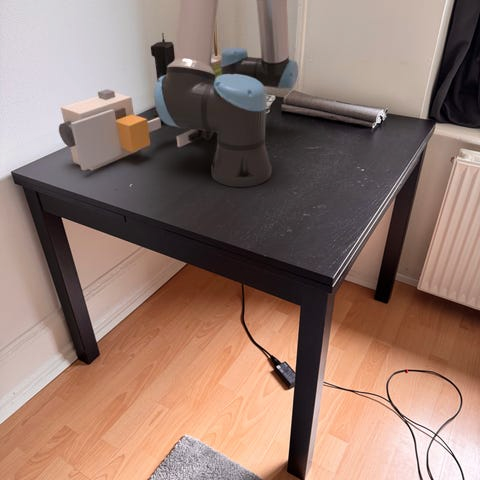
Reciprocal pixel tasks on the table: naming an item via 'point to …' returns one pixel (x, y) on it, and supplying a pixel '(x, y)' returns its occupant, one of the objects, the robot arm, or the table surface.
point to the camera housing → (89, 108)
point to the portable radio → (162, 56)
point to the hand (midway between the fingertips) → (159, 135)
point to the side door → (108, 137)
